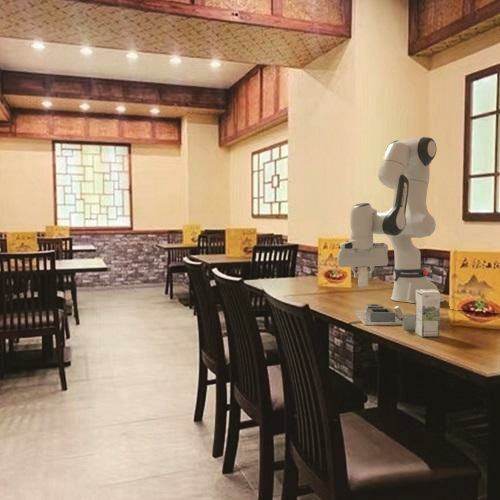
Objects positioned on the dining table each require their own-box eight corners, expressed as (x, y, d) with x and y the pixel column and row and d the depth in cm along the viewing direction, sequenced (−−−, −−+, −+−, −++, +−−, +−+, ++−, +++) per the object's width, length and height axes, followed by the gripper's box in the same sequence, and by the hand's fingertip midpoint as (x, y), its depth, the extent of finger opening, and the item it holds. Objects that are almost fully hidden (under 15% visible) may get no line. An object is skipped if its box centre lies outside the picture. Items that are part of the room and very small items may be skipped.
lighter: (414, 328, 165) (414, 305, 165) (416, 329, 164) (416, 306, 163) (393, 329, 165) (393, 305, 164) (395, 330, 163) (395, 306, 163)
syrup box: (432, 332, 159) (432, 288, 158) (440, 337, 153) (440, 291, 152) (414, 333, 159) (415, 288, 158) (421, 337, 153) (422, 291, 152)
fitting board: (388, 312, 193) (388, 302, 193) (402, 324, 171) (402, 313, 171) (354, 312, 194) (354, 302, 194) (364, 325, 172) (364, 313, 172)
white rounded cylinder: (367, 285, 202) (366, 266, 202) (368, 286, 198) (368, 267, 198) (357, 285, 202) (356, 266, 202) (358, 287, 198) (358, 267, 198)
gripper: (386, 242, 201) (387, 275, 203) (336, 244, 203) (337, 277, 204) (389, 243, 195) (390, 277, 196) (337, 245, 196) (338, 279, 198)
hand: (362, 277), depth 200 cm, fingers closed on white rounded cylinder, 4 cm apart
